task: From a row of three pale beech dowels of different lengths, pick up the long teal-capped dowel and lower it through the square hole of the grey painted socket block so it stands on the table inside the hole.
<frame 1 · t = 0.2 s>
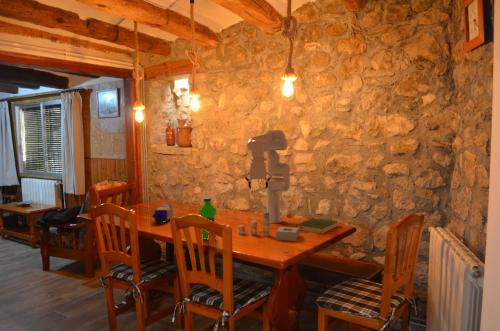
hand: (258, 188, 226), 30 cm above the table, fingers open, 9 cm apart
long dowel: (266, 235, 233), on the table
toy truck: (163, 221, 278), on the table
medium dowel: (254, 234, 235), on the table
hardcover book: (317, 229, 250), on the table
plastic bottle: (208, 239, 225), on the table
short dowel: (241, 233, 237), on the table
socket block: (287, 237, 226), on the table
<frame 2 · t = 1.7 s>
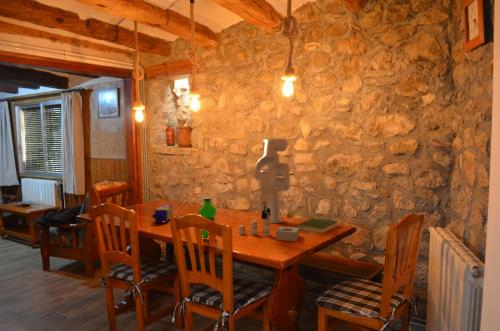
hand: (266, 217, 231), 11 cm above the table, fingers open, 9 cm apart
nothing on the table moved.
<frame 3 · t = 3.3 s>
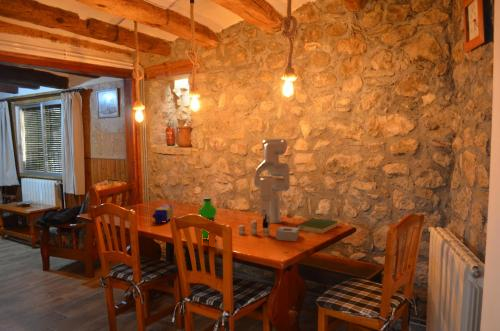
hand: (266, 226, 232), 5 cm above the table, fingers closed on long dowel, 4 cm apart
long dowel: (266, 235, 233), on the table, touching gripper
everything else where it was.
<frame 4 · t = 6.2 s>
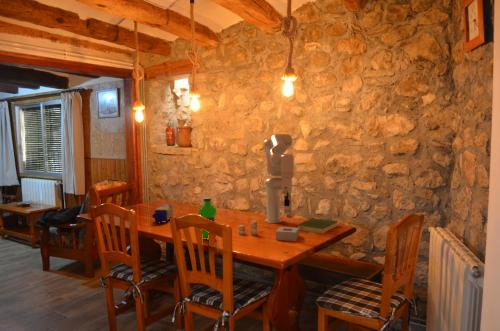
hand: (287, 205, 225), 20 cm above the table, fingers closed on long dowel, 4 cm apart
long dowel: (287, 213, 225), point 15 cm above the table, touching gripper
everything else where it was.
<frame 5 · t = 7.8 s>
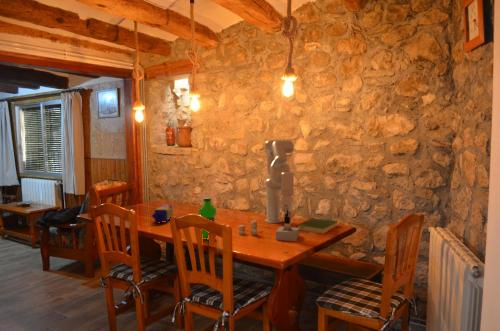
hand: (287, 222, 225), 9 cm above the table, fingers closed on long dowel, 4 cm apart
long dowel: (287, 231, 226), point 4 cm above the table, touching gripper
everything else where it was.
when the fingers open (7 cm above the table, at t = 9.1 s): long dowel drops 2 cm, resting in socket block.
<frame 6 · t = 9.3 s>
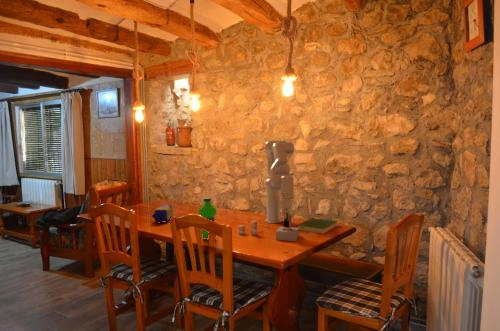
hand: (287, 225, 226), 8 cm above the table, fingers open, 6 cm apart
long dowel: (287, 237, 226), resting in socket block
everything else where it was.
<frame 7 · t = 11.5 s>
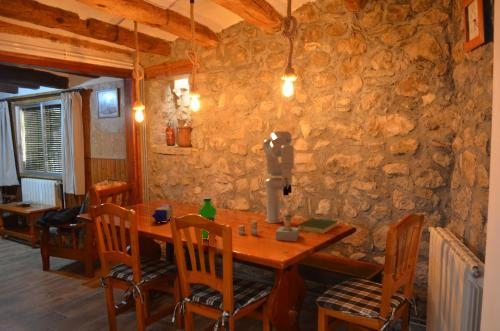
hand: (287, 194, 225), 26 cm above the table, fingers open, 9 cm apart
nothing on the table moved.
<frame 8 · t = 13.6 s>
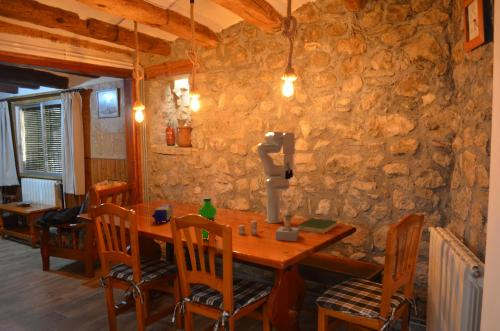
hand: (289, 178, 240), 34 cm above the table, fingers open, 9 cm apart
nothing on the table moved.
at the end: long dowel 0.1 cm off-centre on the socket block, point 0.0 cm above the socket block's base; long dowel tilted 0°; the gripper is holding nothing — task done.
